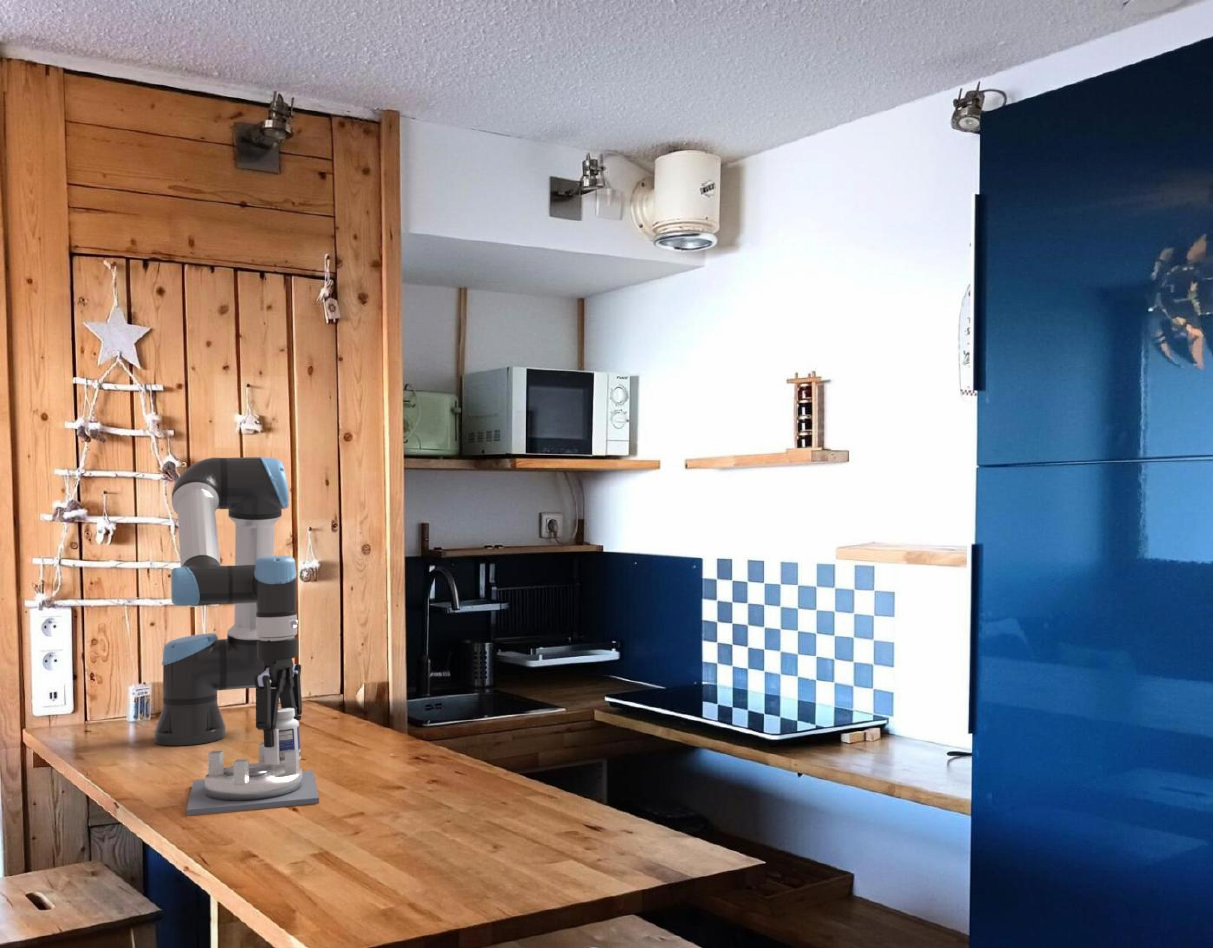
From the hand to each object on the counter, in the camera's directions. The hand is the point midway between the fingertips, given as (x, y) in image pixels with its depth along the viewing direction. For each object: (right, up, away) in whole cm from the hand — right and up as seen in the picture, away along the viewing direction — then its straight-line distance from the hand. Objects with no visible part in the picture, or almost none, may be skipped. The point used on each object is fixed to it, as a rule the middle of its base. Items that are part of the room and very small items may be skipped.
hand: (280, 759), depth 209 cm
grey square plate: (-3, -4, -8) cm, 9 cm away
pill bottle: (+1, -1, 0) cm, 1 cm away
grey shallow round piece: (-3, -3, -8) cm, 9 cm away
